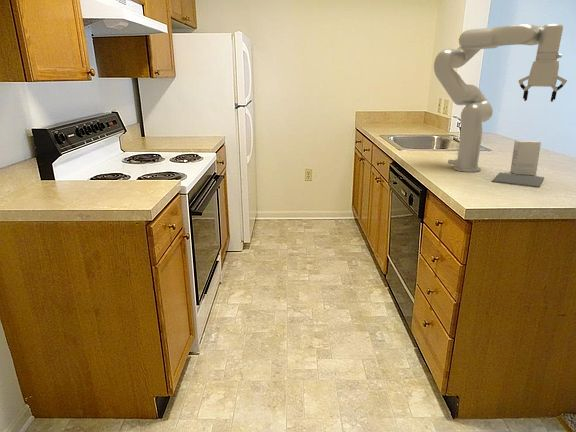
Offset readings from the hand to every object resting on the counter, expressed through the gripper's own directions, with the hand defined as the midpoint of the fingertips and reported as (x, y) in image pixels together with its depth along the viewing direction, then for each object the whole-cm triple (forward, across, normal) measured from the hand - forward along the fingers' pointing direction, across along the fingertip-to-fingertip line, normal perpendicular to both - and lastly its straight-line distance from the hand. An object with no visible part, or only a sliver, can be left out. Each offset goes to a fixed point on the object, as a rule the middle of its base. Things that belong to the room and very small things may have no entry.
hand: (538, 101), depth 173 cm
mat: (+33, +2, +5) cm, 34 cm away
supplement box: (+33, +2, -10) cm, 35 cm away
